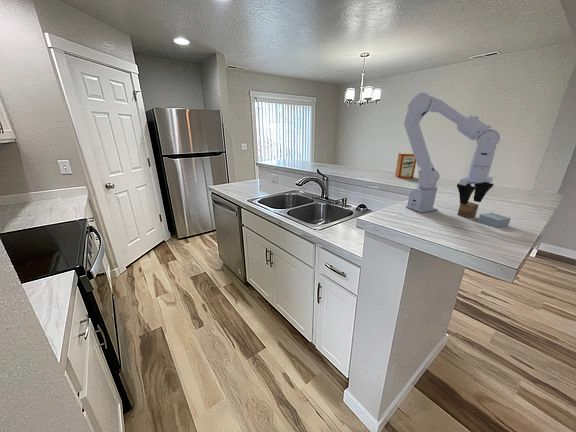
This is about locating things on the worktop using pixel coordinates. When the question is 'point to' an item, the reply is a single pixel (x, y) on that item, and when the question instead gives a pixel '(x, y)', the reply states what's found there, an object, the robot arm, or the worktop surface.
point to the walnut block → (468, 210)
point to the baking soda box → (405, 165)
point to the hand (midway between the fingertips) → (470, 202)
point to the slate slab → (494, 220)
